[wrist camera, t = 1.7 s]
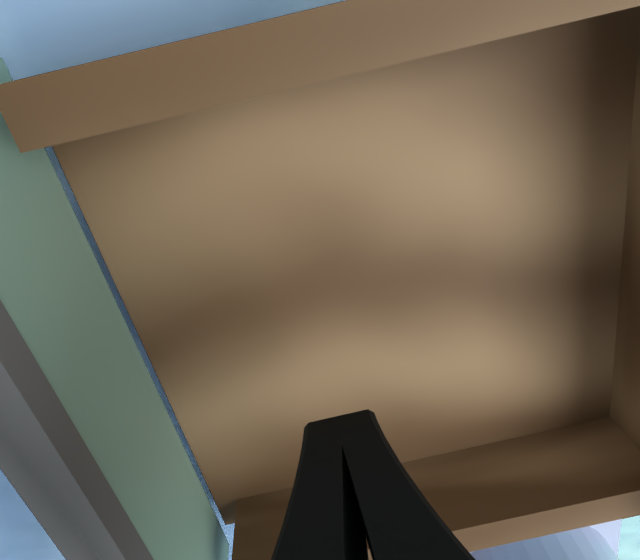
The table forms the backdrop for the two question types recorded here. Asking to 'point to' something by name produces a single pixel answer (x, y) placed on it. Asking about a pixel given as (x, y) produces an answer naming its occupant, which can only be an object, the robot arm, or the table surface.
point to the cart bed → (379, 246)
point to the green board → (83, 391)
